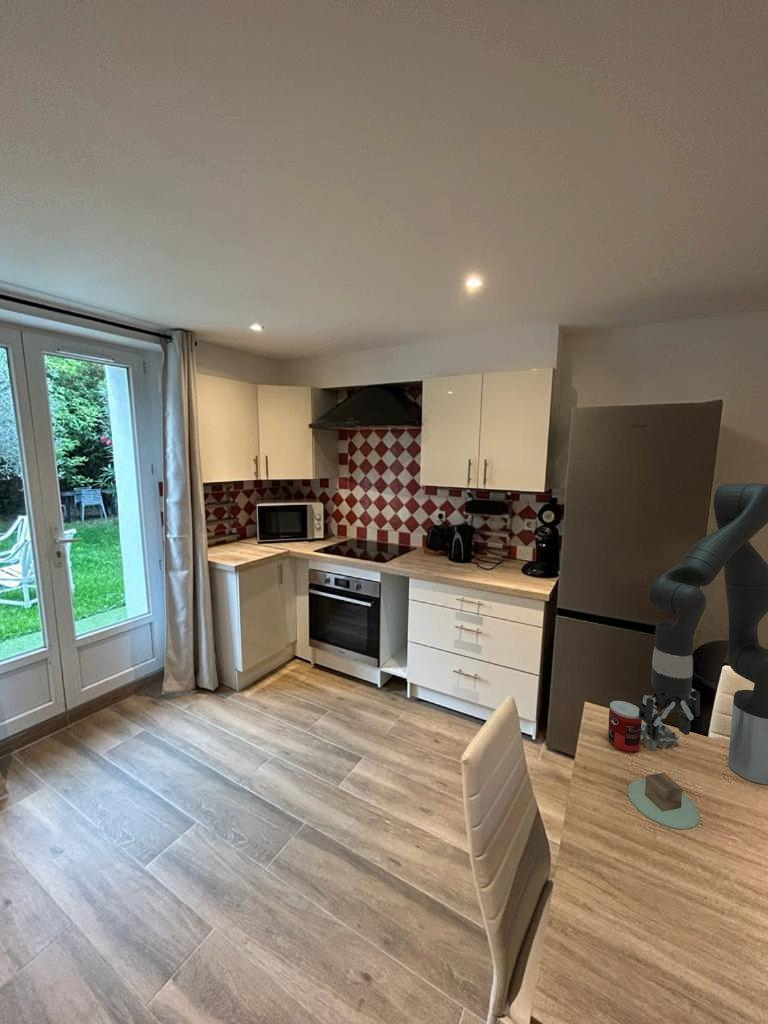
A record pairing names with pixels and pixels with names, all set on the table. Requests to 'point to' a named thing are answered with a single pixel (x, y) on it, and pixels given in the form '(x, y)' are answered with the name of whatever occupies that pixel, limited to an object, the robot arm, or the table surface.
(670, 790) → the walnut block
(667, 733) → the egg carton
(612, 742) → the canned food
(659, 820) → the sage mat
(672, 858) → the table surface
